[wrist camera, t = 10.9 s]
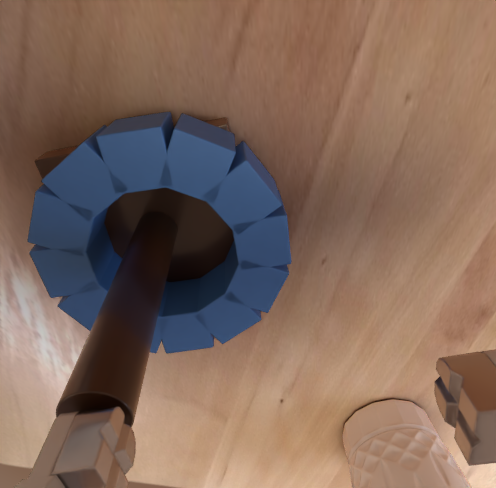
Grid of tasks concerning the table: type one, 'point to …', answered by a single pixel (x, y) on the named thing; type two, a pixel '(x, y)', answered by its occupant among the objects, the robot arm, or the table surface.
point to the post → (139, 286)
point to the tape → (181, 180)
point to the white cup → (398, 449)
